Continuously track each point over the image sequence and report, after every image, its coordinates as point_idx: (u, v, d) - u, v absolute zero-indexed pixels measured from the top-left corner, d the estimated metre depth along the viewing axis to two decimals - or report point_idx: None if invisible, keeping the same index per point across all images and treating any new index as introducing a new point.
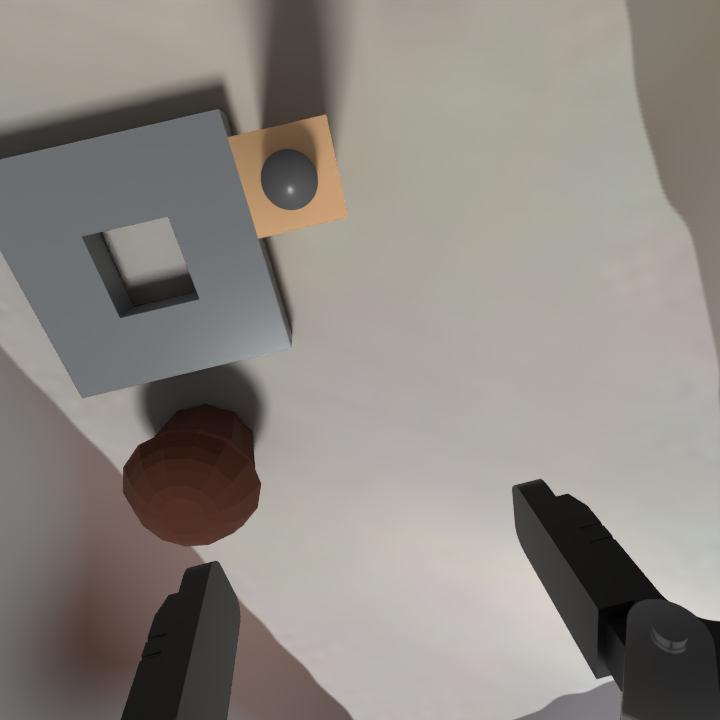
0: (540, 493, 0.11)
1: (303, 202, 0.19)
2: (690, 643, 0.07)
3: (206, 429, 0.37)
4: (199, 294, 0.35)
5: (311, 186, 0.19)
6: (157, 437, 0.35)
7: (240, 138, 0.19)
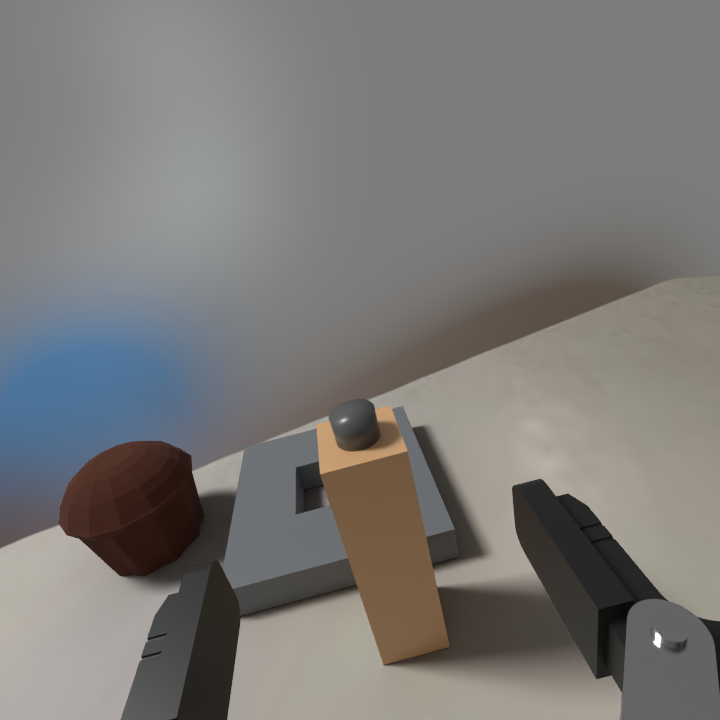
0: (540, 493, 0.11)
1: (333, 420, 0.22)
2: (690, 643, 0.07)
3: (175, 507, 0.39)
4: (299, 514, 0.38)
5: (344, 422, 0.22)
6: (190, 465, 0.41)
7: (389, 410, 0.25)
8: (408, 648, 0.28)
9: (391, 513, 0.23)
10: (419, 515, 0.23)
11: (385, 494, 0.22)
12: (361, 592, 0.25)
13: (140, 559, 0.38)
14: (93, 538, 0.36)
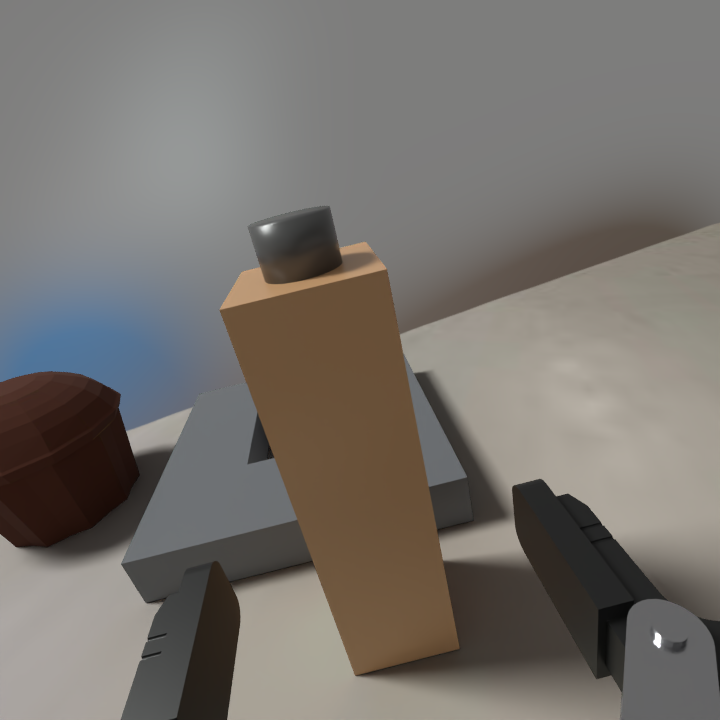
0: (540, 493, 0.11)
1: (254, 225, 0.12)
2: (690, 643, 0.07)
3: (89, 455, 0.29)
4: (252, 464, 0.27)
5: (271, 223, 0.12)
6: (115, 403, 0.31)
7: (363, 245, 0.15)
8: (394, 649, 0.18)
9: (361, 404, 0.13)
10: (410, 410, 0.13)
11: (348, 361, 0.12)
12: (312, 552, 0.15)
13: (38, 523, 0.28)
14: None
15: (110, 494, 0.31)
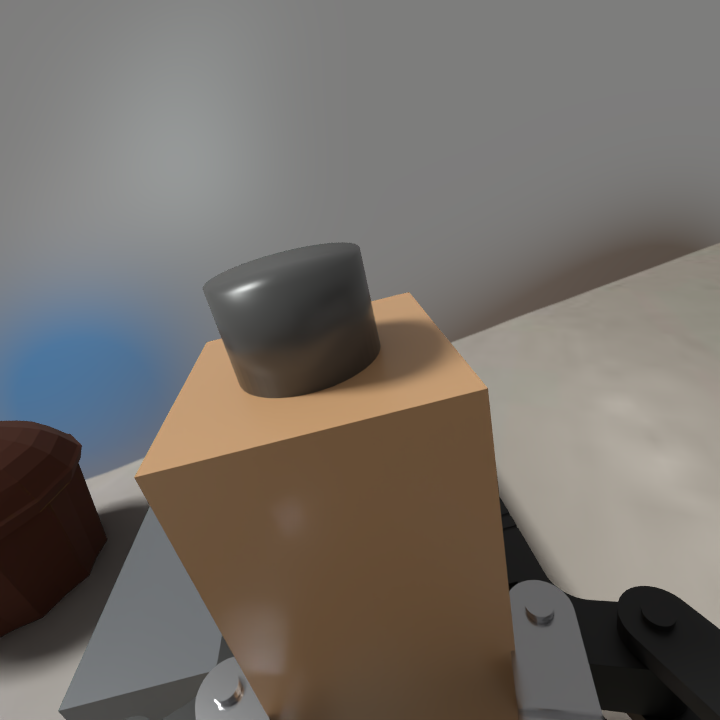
0: None
1: (214, 286, 0.06)
2: (554, 618, 0.08)
3: (36, 530, 0.23)
4: None
5: (247, 286, 0.06)
6: (72, 460, 0.25)
7: (407, 301, 0.09)
8: None
9: (417, 611, 0.07)
10: (505, 614, 0.07)
11: (397, 549, 0.06)
12: None
13: None
14: None
15: (66, 573, 0.25)
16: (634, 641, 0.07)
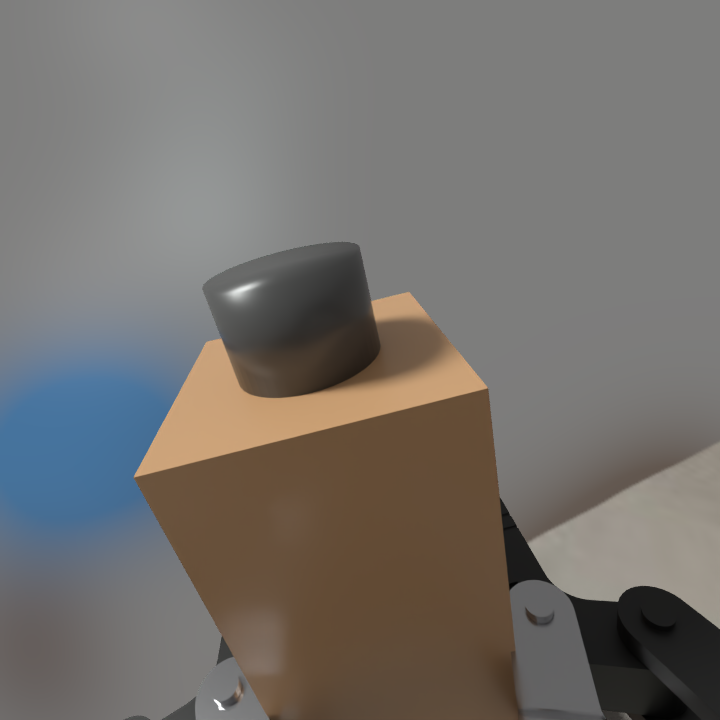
0: None
1: (214, 286, 0.06)
2: (554, 618, 0.08)
3: None
4: None
5: (247, 285, 0.06)
6: None
7: (407, 300, 0.09)
8: None
9: (417, 612, 0.07)
10: (505, 614, 0.07)
11: (397, 550, 0.06)
12: None
13: None
14: None
15: None
16: (634, 641, 0.07)
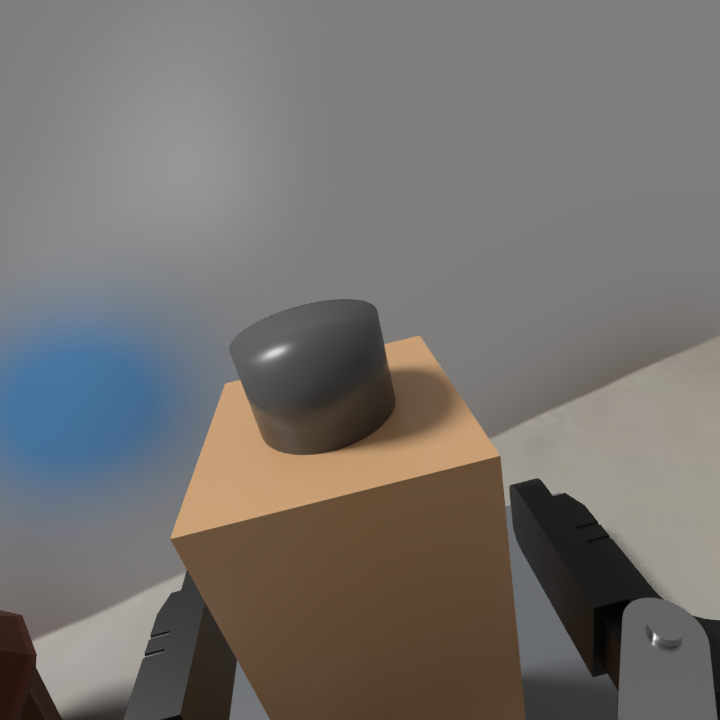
0: (537, 492, 0.11)
1: (241, 349, 0.07)
2: (684, 641, 0.07)
3: None
4: None
5: (273, 353, 0.06)
6: (14, 705, 0.14)
7: (418, 346, 0.09)
8: None
9: (430, 653, 0.07)
10: (513, 654, 0.08)
11: (413, 598, 0.07)
12: None
13: None
14: None
15: None
16: None
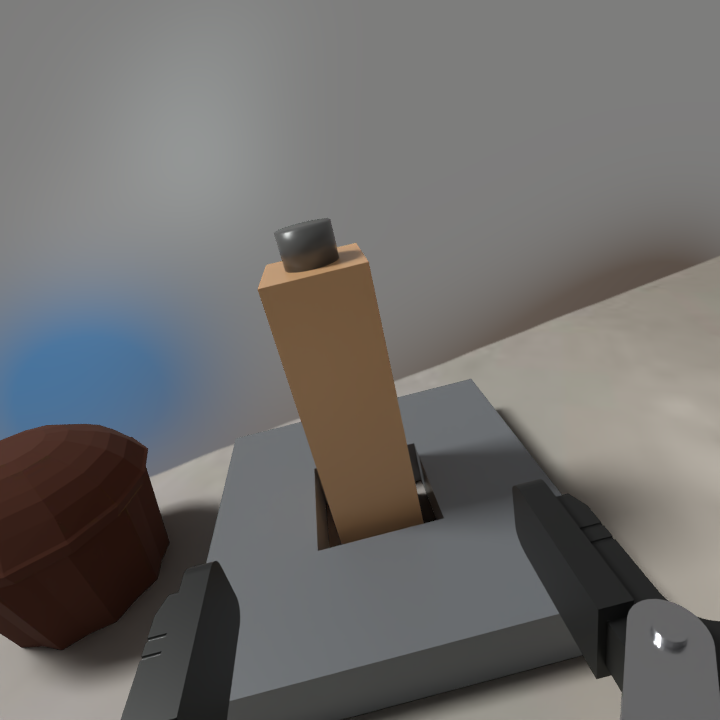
0: (540, 493, 0.11)
1: (278, 232, 0.18)
2: (690, 643, 0.07)
3: (113, 534, 0.23)
4: (325, 551, 0.21)
5: (291, 231, 0.18)
6: (143, 463, 0.25)
7: (354, 245, 0.21)
8: None
9: (352, 355, 0.19)
10: (386, 360, 0.19)
11: (343, 325, 0.18)
12: (318, 467, 0.21)
13: (50, 624, 0.22)
14: None
15: (138, 577, 0.25)
16: None
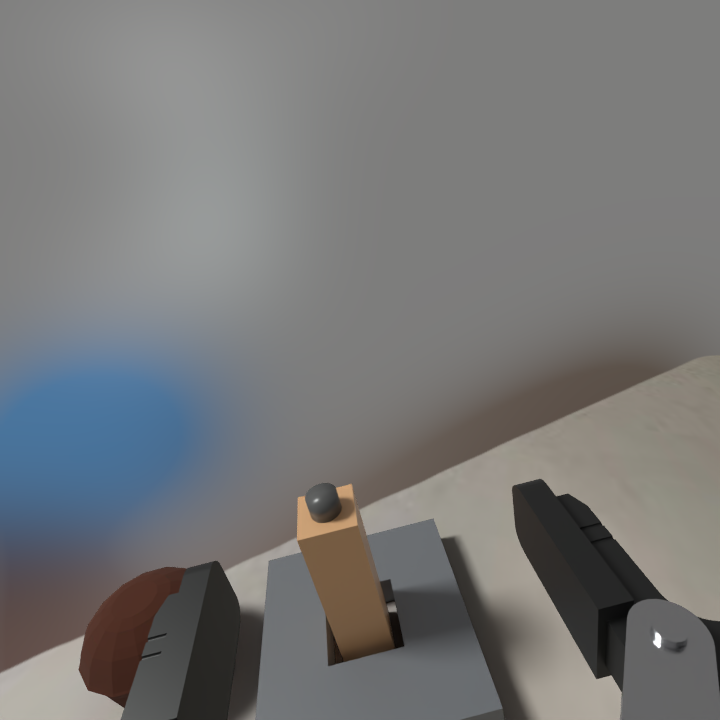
0: (540, 493, 0.11)
1: (307, 501, 0.32)
2: (690, 643, 0.07)
3: None
4: (332, 666, 0.36)
5: (315, 503, 0.32)
6: None
7: (350, 488, 0.35)
8: None
9: (348, 565, 0.33)
10: (368, 566, 0.33)
11: (343, 552, 0.32)
12: (329, 619, 0.35)
13: None
14: (116, 697, 0.34)
15: None
16: None
